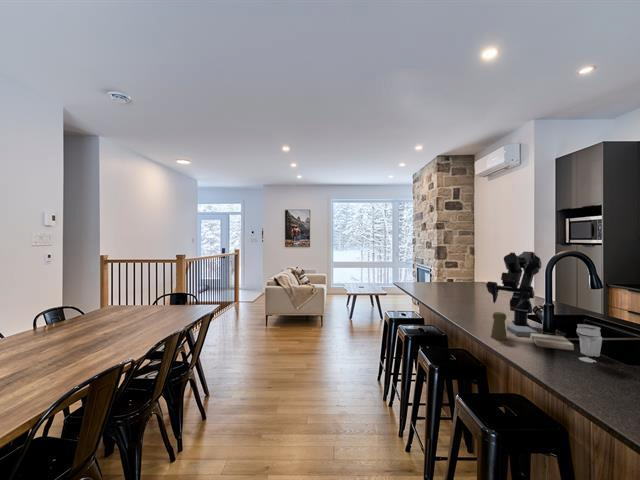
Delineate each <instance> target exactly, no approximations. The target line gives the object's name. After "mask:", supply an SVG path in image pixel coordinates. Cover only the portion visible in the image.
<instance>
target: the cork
mask: <svg viewBox="0 0 640 480" xmlns="http://www.w3.org/2000/svg"><path fill="white" fill-rule="evenodd" d="M492 319H493V322H492V329H491V334H490V338H492V339H494V340H499V341H507V327H506V320H507V314H506V313H504V312H501V311H495V312H493V313H492Z"/></svg>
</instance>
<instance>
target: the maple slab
mask: <svg viewBox="0 0 640 480" xmlns="http://www.w3.org/2000/svg"><path fill="white" fill-rule="evenodd" d="M529 338H530V339H531V340H532V342H533V343H534V344H535V345H536V346H537V347H541V348H547V349H548V348H549V349H559V350H567V351H574V350H575V348H574V347H575V344H573V343H572V342H571V341H570V340H568V339H567V338H566V337H565V336H562V335H551V334H543V333H538V334H535V333H530V336H529Z"/></svg>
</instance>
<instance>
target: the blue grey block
mask: <svg viewBox="0 0 640 480" xmlns="http://www.w3.org/2000/svg"><path fill="white" fill-rule="evenodd" d="M506 331H507V332H509V333H511V334H513V336H516V337H530V333H535V334H539V332H538V331H536V330H535V329H532V328H531V327H529V326H526V325H506Z"/></svg>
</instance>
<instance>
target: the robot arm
mask: <svg viewBox="0 0 640 480" xmlns="http://www.w3.org/2000/svg"><path fill="white" fill-rule="evenodd" d="M503 262H504V265H505V269H506V270H508V271H507V272H501V277H500V281H501V284H502V285H498V282H496V281H487V282H486V284H485V286H486V289H487V291H488V293H489V294H491V295H492V302H493V304H495V303H497V299H498V296H499V291H505V292H509V293H512V296H511V298H510V300H509V311H512V312H513V319H512V320H511V322H512V323H513V325H514V326H527V327H529V326H530V324H529V323H528V314H533V306H532V303H531V300H530V299H535V298H534V297H535V290H534V287H533V286H532V283H533V280H534V276H536V274H537V275H538V273H539V272H540V269H541V268H542V261H541V258H540V257H539V256H537V255H536V253H535V252H533V251H523V252H521V254H518V255H516V253H515V252H509V254H506V255H505V256H503ZM522 274H523V275H522ZM521 277H522V278H521Z"/></svg>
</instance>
